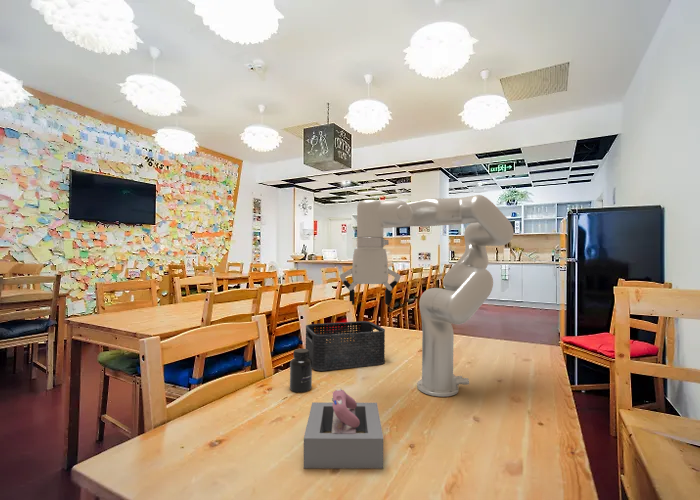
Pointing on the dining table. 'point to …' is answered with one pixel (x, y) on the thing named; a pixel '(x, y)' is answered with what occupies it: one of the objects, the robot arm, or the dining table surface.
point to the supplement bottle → (301, 371)
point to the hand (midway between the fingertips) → (370, 304)
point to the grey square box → (343, 439)
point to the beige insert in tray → (342, 425)
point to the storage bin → (345, 345)
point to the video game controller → (345, 408)
